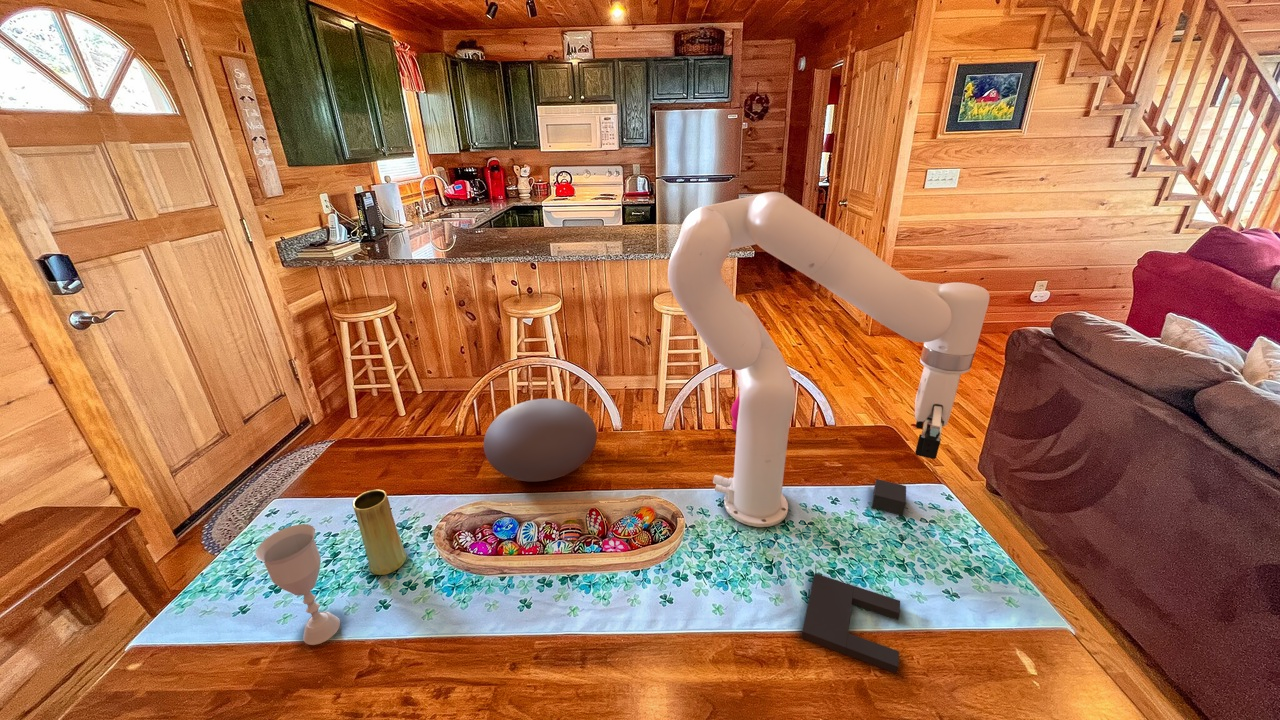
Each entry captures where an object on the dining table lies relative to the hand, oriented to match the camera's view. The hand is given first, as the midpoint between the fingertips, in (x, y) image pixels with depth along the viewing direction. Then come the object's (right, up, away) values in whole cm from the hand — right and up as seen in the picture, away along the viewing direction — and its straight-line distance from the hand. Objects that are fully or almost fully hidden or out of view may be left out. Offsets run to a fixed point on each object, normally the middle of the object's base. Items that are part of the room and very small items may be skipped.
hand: (925, 442), depth 93 cm
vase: (-97, -22, -1) cm, 100 cm away
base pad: (-20, -26, -14) cm, 35 cm away
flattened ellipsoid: (-74, -9, +24) cm, 79 cm away
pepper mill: (-26, -2, +37) cm, 45 cm away
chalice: (-102, -27, -14) cm, 106 cm away
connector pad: (-2, -14, +10) cm, 17 cm away
